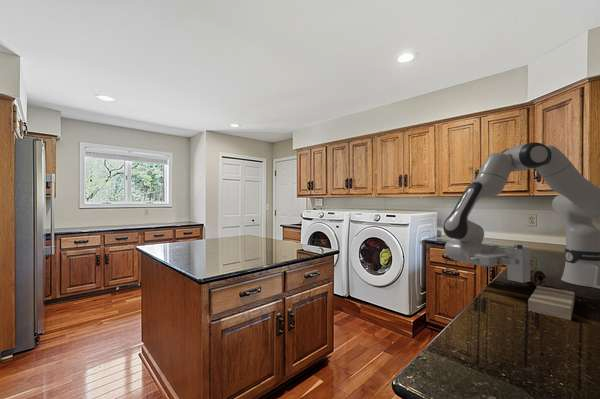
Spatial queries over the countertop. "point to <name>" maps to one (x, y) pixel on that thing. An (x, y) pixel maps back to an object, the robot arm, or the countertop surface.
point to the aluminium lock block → (519, 263)
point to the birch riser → (552, 302)
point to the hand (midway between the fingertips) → (521, 261)
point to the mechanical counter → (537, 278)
